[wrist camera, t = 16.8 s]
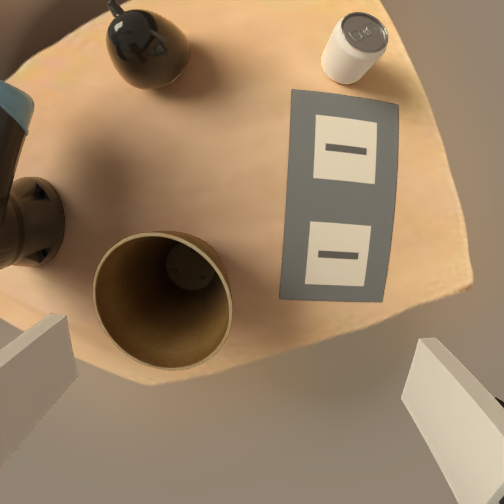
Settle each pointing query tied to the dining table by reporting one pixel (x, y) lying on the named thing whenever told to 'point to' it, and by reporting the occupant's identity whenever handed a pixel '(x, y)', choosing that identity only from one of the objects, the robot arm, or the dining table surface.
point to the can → (354, 47)
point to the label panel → (339, 197)
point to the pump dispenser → (145, 47)
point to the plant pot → (164, 299)
